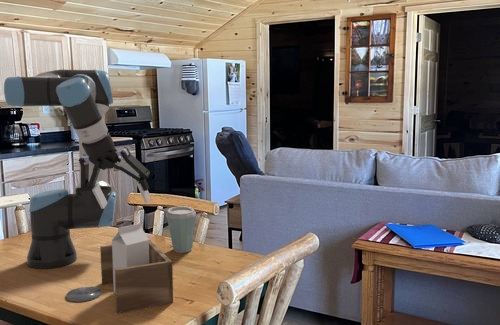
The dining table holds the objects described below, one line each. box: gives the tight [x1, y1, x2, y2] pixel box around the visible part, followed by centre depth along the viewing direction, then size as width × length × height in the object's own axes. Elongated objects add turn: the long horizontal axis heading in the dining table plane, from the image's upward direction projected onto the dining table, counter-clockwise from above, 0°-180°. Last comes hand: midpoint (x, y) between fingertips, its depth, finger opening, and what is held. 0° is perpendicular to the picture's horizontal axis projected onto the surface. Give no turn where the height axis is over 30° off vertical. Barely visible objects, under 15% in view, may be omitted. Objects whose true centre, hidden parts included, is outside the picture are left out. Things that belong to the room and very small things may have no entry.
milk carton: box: [111, 222, 150, 294], centre depth 129 cm, size 7×7×19 cm
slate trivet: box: [65, 286, 102, 303], centre depth 129 cm, size 9×9×1 cm
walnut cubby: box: [100, 239, 174, 314], centre depth 130 cm, size 22×14×11 cm, turn 27°
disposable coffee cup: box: [165, 205, 197, 254], centre depth 167 cm, size 11×11×15 cm
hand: (126, 202), depth 133 cm, fingers open, 13 cm apart
